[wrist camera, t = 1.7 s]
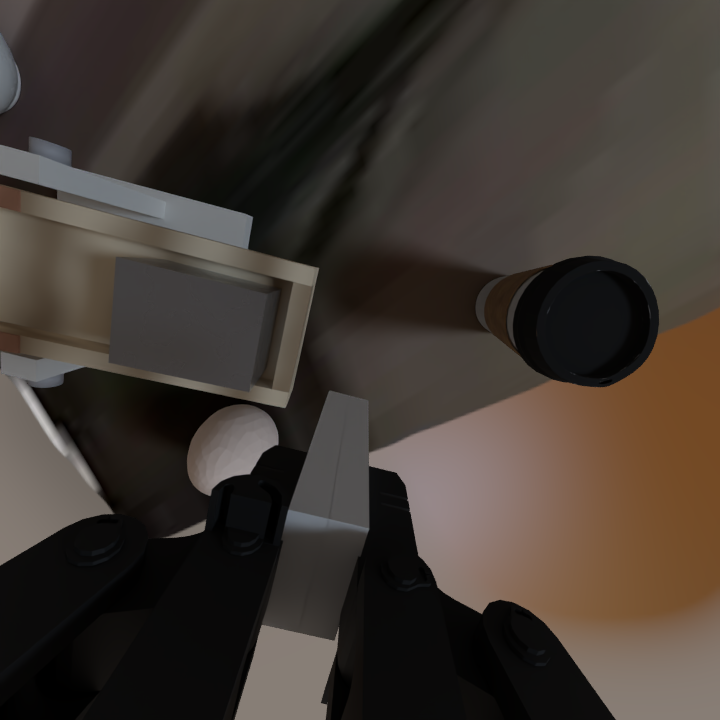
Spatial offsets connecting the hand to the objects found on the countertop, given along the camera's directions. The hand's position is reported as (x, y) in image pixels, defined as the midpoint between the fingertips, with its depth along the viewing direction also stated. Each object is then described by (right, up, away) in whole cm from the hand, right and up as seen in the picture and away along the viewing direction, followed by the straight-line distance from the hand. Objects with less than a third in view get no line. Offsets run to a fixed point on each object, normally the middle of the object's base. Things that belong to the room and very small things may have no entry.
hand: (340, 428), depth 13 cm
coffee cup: (+16, +8, +22) cm, 29 cm away
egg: (-12, -5, +26) cm, 29 cm away
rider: (-9, +6, +11) cm, 16 cm away
